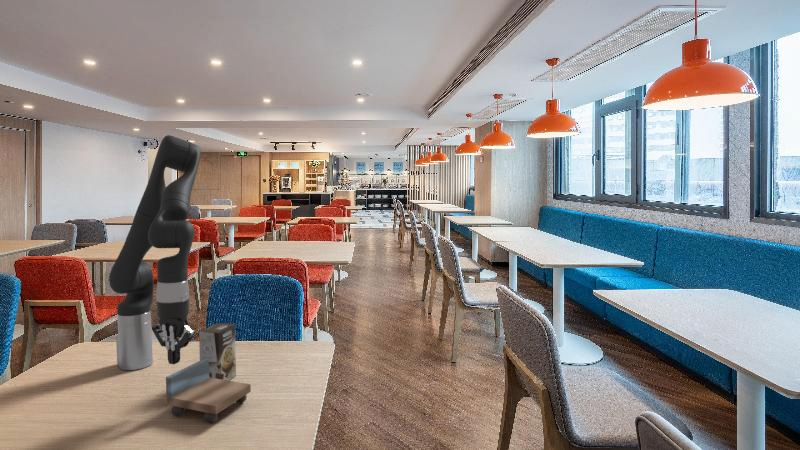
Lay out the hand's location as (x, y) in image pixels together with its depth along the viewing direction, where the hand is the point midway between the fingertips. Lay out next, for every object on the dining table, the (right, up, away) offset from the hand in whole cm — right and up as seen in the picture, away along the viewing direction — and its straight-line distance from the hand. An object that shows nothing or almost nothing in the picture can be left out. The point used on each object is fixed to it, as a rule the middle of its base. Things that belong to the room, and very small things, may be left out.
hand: (174, 362), depth 121 cm
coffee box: (+6, -10, +15) cm, 19 cm away
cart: (+10, -11, -2) cm, 15 cm away
